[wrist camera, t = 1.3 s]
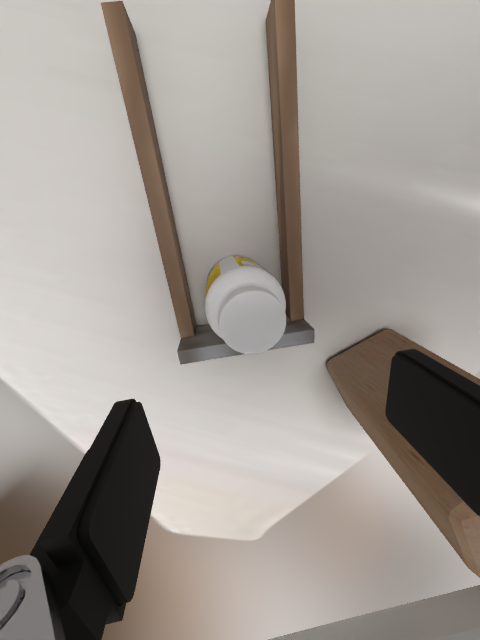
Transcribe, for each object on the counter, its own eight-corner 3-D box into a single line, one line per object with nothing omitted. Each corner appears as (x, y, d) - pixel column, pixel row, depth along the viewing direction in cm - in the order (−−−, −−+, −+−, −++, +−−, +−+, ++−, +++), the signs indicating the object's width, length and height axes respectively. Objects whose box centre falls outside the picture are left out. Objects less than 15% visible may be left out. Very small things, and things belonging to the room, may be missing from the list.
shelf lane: (283, 19, 20) (309, -60, 15) (295, 321, 31) (314, 342, 25) (116, 34, 20) (78, -43, 14) (186, 339, 30) (180, 364, 24)
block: (321, 360, 33) (460, 528, 15) (387, 323, 32) (627, 453, 14) (346, 407, 37) (483, 591, 18) (407, 376, 36) (617, 535, 17)
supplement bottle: (217, 317, 29) (221, 378, 17) (198, 265, 27) (186, 294, 15) (269, 300, 29) (308, 350, 17) (255, 246, 27) (288, 261, 15)
